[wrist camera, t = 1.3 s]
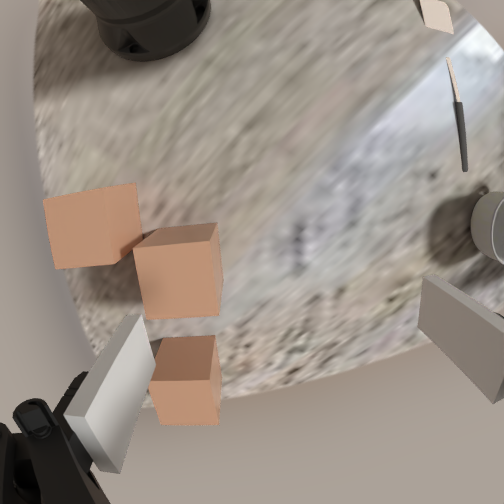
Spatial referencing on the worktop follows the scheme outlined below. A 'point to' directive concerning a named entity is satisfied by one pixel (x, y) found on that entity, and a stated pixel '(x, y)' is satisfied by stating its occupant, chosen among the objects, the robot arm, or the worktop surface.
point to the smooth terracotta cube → (180, 272)
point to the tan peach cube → (187, 381)
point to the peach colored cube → (93, 226)
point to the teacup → (489, 225)
